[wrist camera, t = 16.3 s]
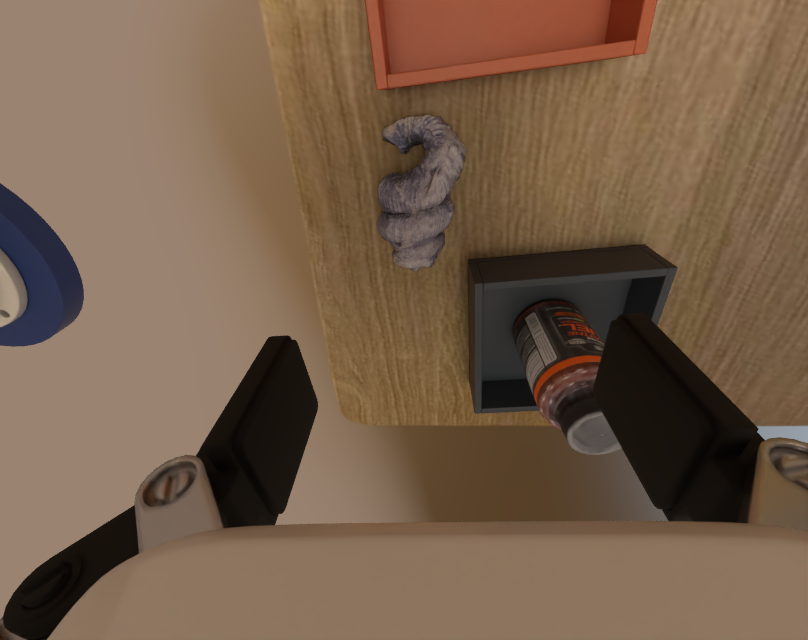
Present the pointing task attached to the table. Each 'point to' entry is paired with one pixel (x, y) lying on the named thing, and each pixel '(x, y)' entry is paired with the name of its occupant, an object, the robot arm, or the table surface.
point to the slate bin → (543, 281)
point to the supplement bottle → (564, 372)
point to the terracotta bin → (498, 36)
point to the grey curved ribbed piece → (420, 191)
